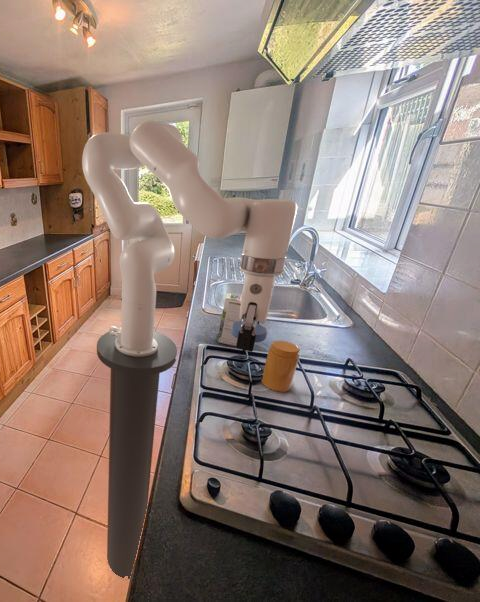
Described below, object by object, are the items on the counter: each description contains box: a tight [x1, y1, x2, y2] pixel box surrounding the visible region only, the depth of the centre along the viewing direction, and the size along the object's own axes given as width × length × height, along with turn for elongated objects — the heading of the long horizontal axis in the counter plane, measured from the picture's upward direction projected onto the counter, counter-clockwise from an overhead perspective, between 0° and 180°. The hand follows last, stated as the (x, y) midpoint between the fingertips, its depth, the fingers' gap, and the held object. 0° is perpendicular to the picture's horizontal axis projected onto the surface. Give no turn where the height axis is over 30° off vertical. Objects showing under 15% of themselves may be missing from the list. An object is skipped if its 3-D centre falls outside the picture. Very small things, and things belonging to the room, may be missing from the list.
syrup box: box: [216, 293, 243, 347], centre depth 90 cm, size 6×6×14 cm
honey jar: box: [260, 340, 301, 393], centre depth 71 cm, size 6×6×11 cm
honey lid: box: [231, 321, 268, 343], centre depth 66 cm, size 7×7×2 cm
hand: (246, 341), depth 67 cm, fingers closed on honey lid, 6 cm apart
